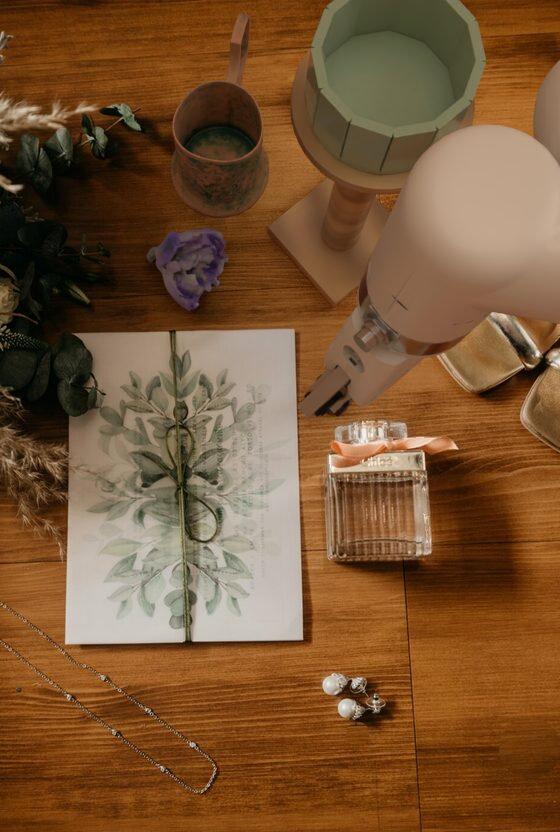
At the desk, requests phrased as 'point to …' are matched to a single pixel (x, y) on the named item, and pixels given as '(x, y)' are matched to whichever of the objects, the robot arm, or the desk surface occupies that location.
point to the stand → (334, 210)
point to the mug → (221, 140)
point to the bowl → (391, 79)
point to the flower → (190, 263)
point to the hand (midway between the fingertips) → (370, 363)
